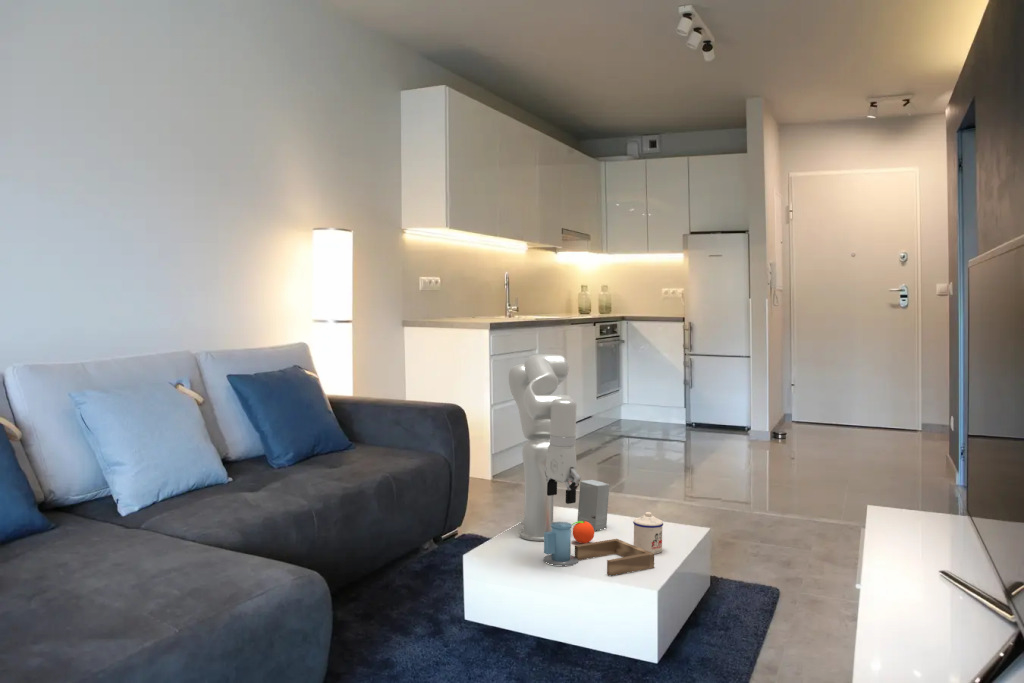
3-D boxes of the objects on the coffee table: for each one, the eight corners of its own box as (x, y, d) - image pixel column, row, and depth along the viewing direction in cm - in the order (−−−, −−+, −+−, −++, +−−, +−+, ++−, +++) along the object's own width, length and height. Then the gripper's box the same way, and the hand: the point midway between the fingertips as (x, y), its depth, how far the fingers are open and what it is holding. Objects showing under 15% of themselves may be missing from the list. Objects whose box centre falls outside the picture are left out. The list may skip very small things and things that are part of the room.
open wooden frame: (574, 559, 221) (574, 545, 221) (616, 551, 228) (616, 538, 228) (610, 576, 206) (610, 561, 206) (654, 567, 214) (654, 553, 214)
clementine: (570, 546, 234) (570, 523, 233) (567, 539, 240) (568, 517, 240) (595, 546, 234) (595, 523, 234) (592, 540, 241) (593, 518, 240)
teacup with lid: (656, 556, 224) (657, 517, 224) (628, 551, 229) (628, 513, 229) (670, 546, 234) (670, 509, 234) (642, 542, 239) (643, 505, 239)
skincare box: (576, 527, 256) (577, 481, 256) (590, 523, 261) (591, 478, 261) (595, 532, 250) (596, 485, 250) (609, 528, 255) (610, 482, 254)
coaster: (537, 558, 220) (537, 556, 220) (565, 553, 226) (565, 551, 226) (556, 568, 212) (556, 566, 212) (584, 563, 217) (584, 561, 217)
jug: (563, 554, 223) (564, 520, 223) (575, 560, 218) (575, 525, 218) (540, 558, 219) (540, 524, 219) (551, 564, 214) (551, 529, 213)
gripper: (535, 437, 224) (534, 493, 225) (568, 447, 209) (567, 508, 210) (556, 435, 227) (555, 490, 228) (590, 445, 213) (588, 504, 213)
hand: (561, 499), depth 219 cm, fingers open, 9 cm apart
